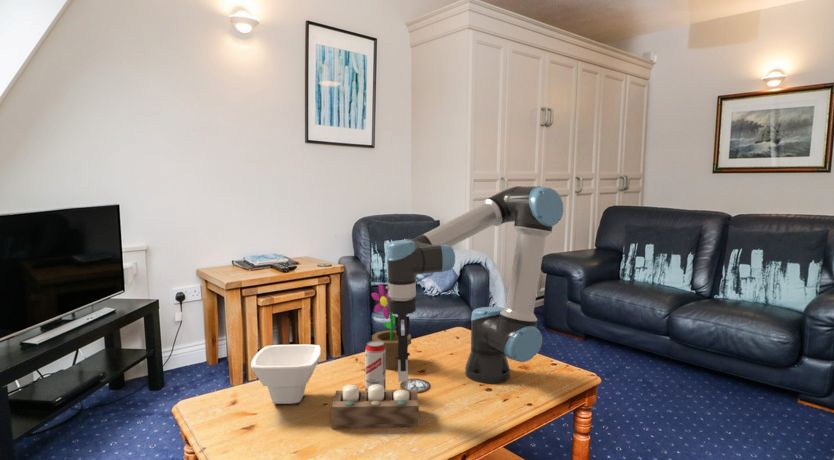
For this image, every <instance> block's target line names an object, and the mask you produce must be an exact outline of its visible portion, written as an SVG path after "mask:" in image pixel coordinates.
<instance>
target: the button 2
mask: <svg viewBox="0 0 834 460" xmlns="http://www.w3.org/2000/svg"><path fill="white" fill-rule="evenodd" d="M396 390H397V391H395V392H394V400H409V392H408V391H406V390H407V389H396Z"/></svg>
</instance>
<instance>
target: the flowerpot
mask: <svg viewBox="0 0 834 460" xmlns="http://www.w3.org/2000/svg"><path fill="white" fill-rule="evenodd" d="M385 289H386V288H385V286H384V285H383V283H379V284H378V291H379V292H378V293H379V294H378V293H377V292H371V297H372V299H373V300H374V301H376V302H378V301H379V303H377V304H376V305H375V306H374V312H375V313H378V312H380V311H382V314H383V316H384V318H385V320H389V321H390V322H387V321H386V322H384V323H383V322H382V325H383V326H384V327H386V328H387V329H389V330H382V331H377V332H376V333H373V334H372V335H371V341H375V340H376V341H382V342H383V343H384V346H385V349H386V371H387V370H389V371H390V370H392V371H393V370H398V360H396V357H398V336H397V335H396V329H394V325H395V317H397V315H396V314H392V313H390V312H389V310H388V299H389V298H390V297H389V296H388V291H386V290H385ZM407 341H408V346H410V345H411V344H412V335H411V334H410V333H409V335H408V336H407Z"/></svg>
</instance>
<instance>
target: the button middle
mask: <svg viewBox="0 0 834 460" xmlns="http://www.w3.org/2000/svg"><path fill="white" fill-rule="evenodd" d="M368 401H384V386H383V385H379V384H374V385H371V386H369V387H368Z"/></svg>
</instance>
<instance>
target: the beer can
mask: <svg viewBox="0 0 834 460" xmlns="http://www.w3.org/2000/svg"><path fill="white" fill-rule="evenodd" d="M364 356H365V360H364V361H365V364H364V366H365V367H364V370H365V371H364V372H365V373H364V377H365V379H364V380H365V384H364V385H365V386H364V387H365V389H364V390H368V387H369V386H371V385H374V384H379V385H383V386H384V390H387V387H386V386H387V385H386V382H387V381H386V374H387V372H386V371H387V369H386V349H385V346H384V343H383V342H382V341H376V340H375V341H372V340H370V341H368V342H367V343H366V346H365V352H364Z"/></svg>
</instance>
